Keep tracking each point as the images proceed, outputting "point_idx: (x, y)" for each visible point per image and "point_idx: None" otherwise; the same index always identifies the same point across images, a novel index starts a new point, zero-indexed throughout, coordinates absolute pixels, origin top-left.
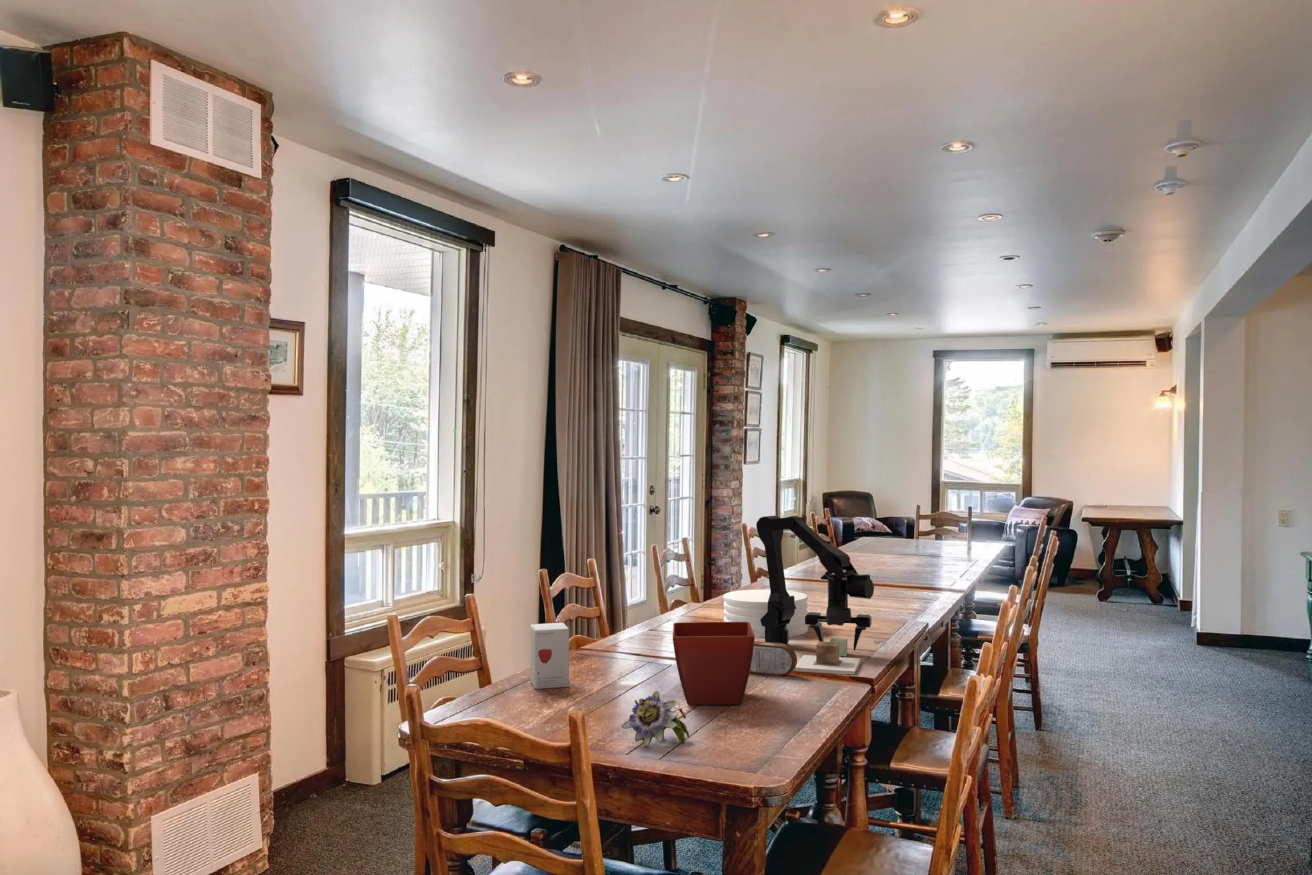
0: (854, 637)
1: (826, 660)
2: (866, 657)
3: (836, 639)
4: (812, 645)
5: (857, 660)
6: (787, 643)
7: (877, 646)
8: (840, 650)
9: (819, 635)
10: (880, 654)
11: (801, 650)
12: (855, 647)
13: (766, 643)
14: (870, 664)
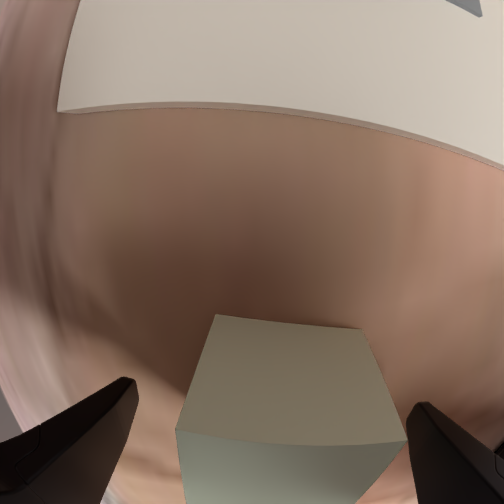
0: (58, 456)
1: None
2: (60, 296)
3: (304, 489)
4: (393, 493)
5: (89, 15)
6: (502, 453)
7: (108, 486)
8: (261, 353)
9: (496, 472)
10: (32, 373)
11: (485, 410)
12: (107, 388)
13: None
14: (28, 61)
